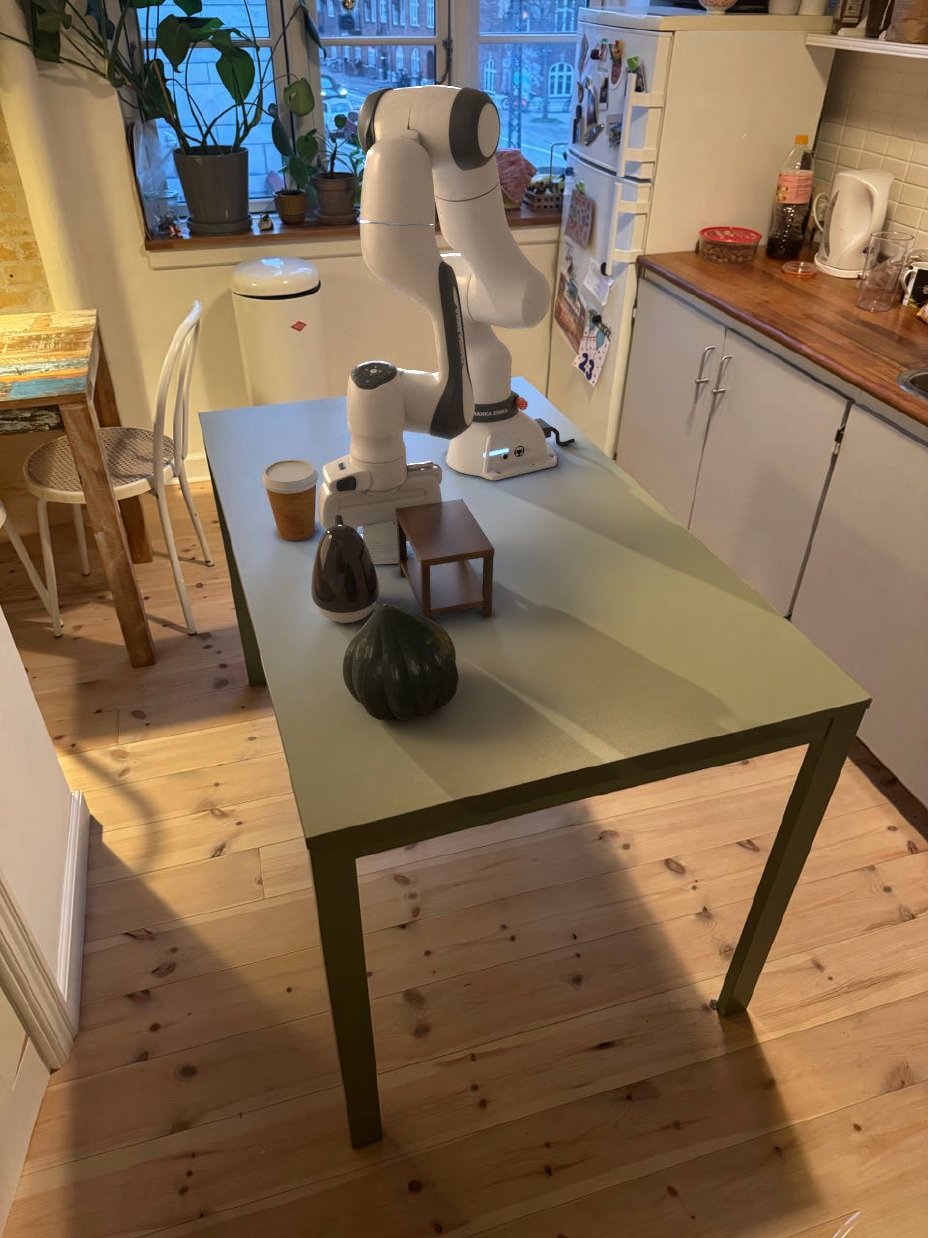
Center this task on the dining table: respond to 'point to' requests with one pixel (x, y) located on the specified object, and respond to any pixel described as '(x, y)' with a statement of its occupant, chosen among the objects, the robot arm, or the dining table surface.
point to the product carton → (382, 542)
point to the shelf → (444, 557)
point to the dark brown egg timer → (344, 575)
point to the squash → (400, 664)
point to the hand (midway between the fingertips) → (383, 543)
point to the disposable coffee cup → (292, 497)
